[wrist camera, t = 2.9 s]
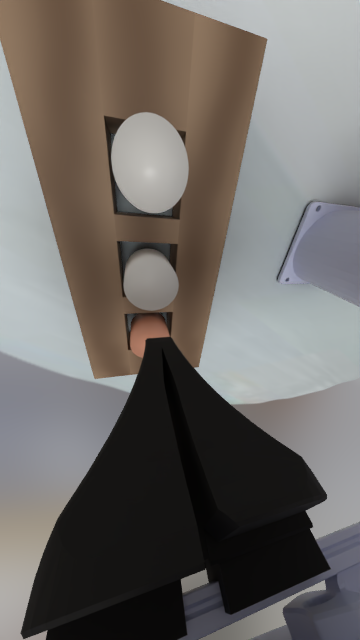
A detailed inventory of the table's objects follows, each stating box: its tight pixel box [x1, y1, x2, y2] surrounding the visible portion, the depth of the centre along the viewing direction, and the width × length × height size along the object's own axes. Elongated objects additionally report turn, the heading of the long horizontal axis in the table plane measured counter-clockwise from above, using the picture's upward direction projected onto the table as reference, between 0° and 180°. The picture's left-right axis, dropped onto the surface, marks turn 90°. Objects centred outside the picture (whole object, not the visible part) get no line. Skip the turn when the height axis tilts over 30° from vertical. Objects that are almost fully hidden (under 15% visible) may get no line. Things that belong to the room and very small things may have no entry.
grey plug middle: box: [124, 248, 179, 311], centre depth 13 cm, size 4×4×3 cm
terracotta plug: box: [130, 312, 170, 358], centre depth 17 cm, size 4×4×3 cm
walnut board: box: [0, 0, 267, 379], centre depth 15 cm, size 12×24×3 cm, turn 174°
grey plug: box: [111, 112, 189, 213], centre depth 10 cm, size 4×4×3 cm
